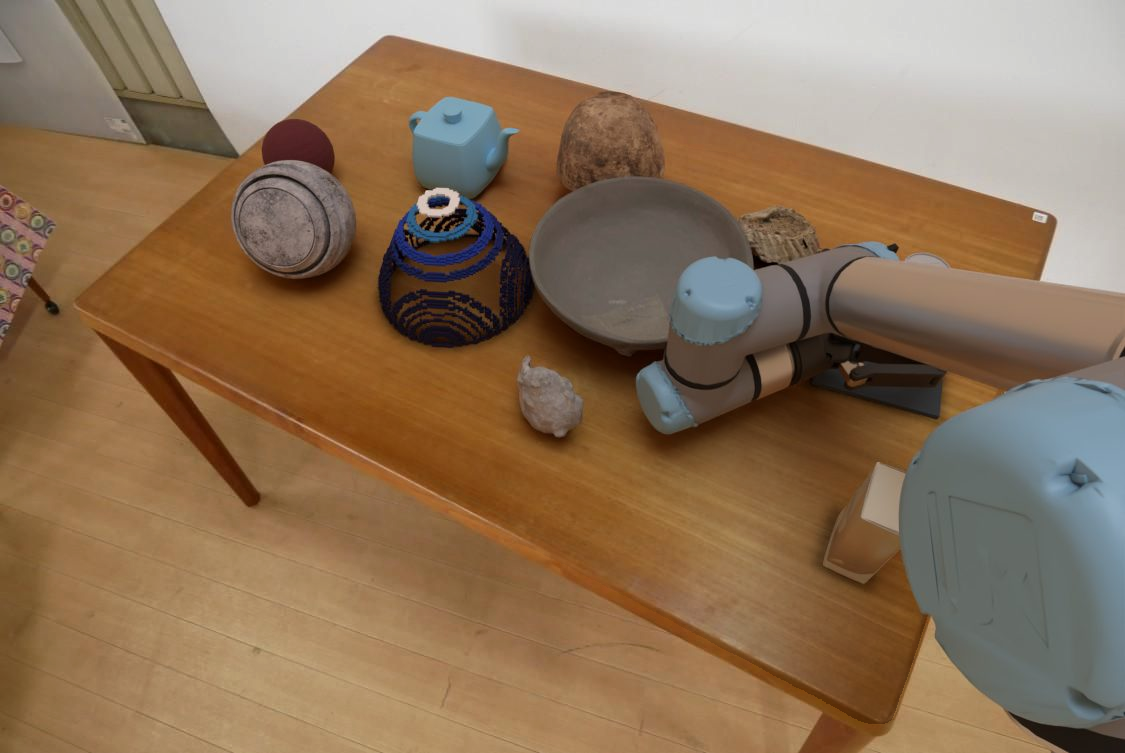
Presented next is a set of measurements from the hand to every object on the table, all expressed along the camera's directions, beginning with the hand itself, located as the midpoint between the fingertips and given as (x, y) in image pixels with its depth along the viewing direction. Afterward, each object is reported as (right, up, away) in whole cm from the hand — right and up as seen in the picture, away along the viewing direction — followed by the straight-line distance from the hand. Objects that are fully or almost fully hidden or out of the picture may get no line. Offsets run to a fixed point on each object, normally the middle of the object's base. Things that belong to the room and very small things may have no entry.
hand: (932, 291), depth 79 cm
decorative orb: (-76, +6, +17) cm, 78 cm away
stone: (-44, -15, 0) cm, 46 cm away
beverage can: (-3, -5, +5) cm, 8 cm away
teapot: (-56, +20, +26) cm, 65 cm away
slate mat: (-3, -5, +6) cm, 8 cm away
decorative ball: (-81, +20, +26) cm, 87 cm away
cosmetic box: (-14, -27, -10) cm, 32 cm away
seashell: (-14, +7, +15) cm, 21 cm away
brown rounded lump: (-35, +17, +23) cm, 45 cm away
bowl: (-33, -1, +10) cm, 34 cm away
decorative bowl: (-56, +2, +13) cm, 58 cm away
